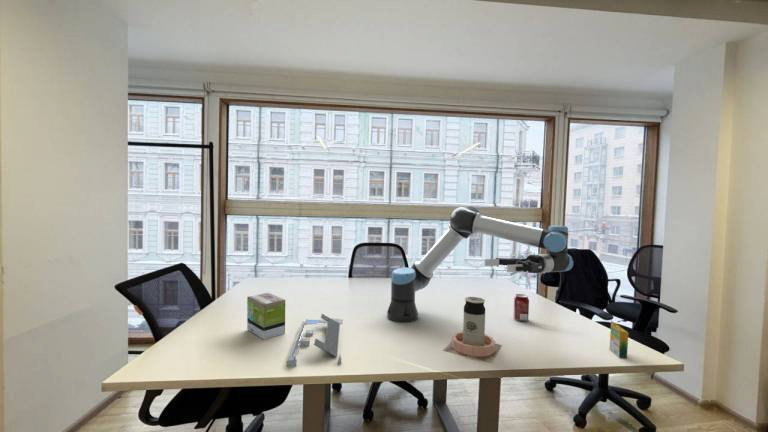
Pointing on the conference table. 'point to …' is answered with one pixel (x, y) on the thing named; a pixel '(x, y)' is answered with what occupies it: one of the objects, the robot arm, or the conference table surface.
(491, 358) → the cork mat
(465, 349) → the bowl
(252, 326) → the tea box
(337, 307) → the conference table surface
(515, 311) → the soda can
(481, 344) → the travel mug
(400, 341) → the conference table surface
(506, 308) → the conference table surface
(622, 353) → the crayon box
